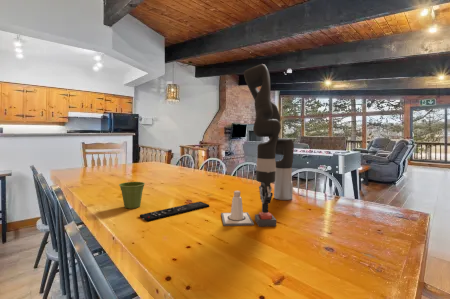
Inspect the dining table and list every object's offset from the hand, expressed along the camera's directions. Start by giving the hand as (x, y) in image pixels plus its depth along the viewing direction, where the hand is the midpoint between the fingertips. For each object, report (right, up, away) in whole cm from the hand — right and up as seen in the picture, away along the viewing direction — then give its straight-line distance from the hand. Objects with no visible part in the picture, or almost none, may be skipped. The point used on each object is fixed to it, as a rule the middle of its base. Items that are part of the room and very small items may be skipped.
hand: (265, 212), depth 101 cm
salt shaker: (-11, -3, +4) cm, 12 cm away
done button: (0, -2, 0) cm, 2 cm away
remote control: (-38, -4, +14) cm, 41 cm away
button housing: (0, -4, 0) cm, 4 cm away
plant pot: (-61, -3, +21) cm, 64 cm away
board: (-11, -4, +4) cm, 13 cm away
